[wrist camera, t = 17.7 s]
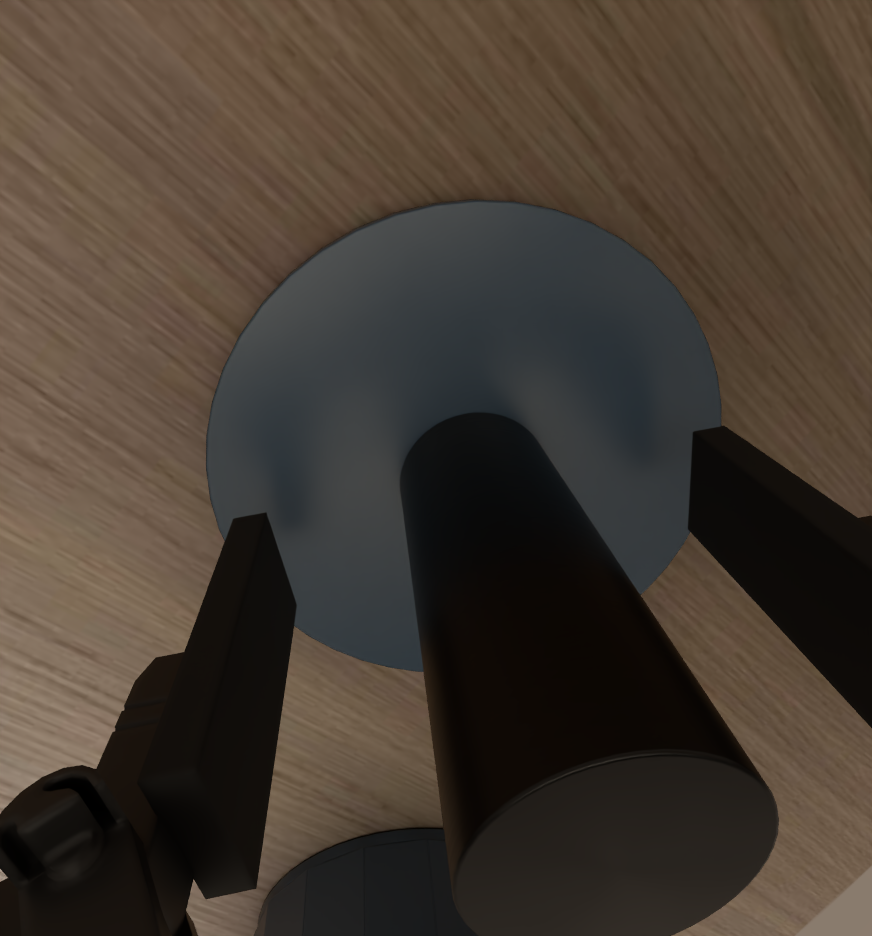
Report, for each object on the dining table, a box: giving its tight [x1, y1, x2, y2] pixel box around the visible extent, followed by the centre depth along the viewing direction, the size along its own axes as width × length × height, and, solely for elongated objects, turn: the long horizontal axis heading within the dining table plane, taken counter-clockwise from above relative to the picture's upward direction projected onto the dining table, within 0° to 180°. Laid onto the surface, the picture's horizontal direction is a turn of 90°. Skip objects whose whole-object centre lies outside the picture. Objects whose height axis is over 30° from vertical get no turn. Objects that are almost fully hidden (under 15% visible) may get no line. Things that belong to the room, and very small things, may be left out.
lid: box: [206, 199, 779, 936], centre depth 12 cm, size 14×14×11 cm
